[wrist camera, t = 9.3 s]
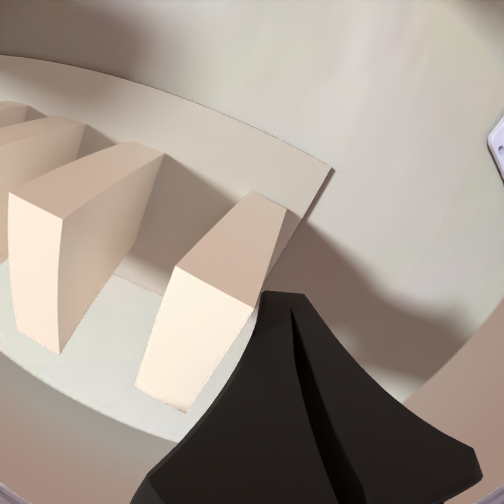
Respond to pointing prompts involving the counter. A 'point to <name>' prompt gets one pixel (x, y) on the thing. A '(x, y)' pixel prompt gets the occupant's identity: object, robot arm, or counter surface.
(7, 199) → the tile
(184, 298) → the tile
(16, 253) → the tile
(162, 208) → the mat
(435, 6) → the counter surface
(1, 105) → the tile
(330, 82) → the counter surface
